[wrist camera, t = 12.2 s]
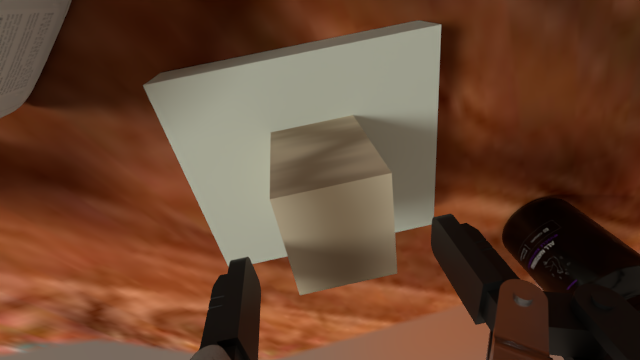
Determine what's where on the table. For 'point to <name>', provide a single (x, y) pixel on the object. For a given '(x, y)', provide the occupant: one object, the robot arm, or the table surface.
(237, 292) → the robot arm
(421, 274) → the table surface
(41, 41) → the photo printer
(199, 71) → the base plate
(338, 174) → the birch block
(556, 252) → the supplement bottle
